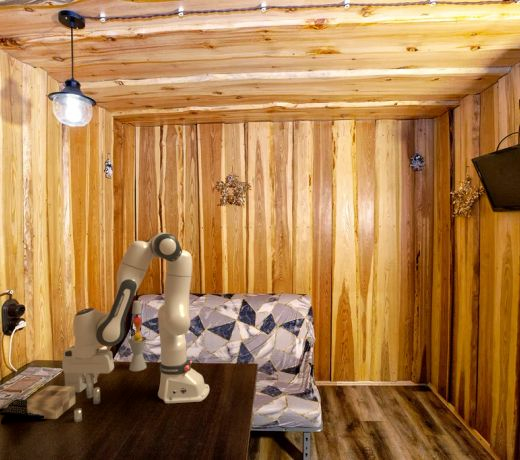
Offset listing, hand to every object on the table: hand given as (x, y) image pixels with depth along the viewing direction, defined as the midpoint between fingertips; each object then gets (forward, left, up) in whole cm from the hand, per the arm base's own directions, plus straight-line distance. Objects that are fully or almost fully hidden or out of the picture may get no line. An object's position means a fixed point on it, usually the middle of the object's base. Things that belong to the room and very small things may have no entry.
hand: (89, 382), depth 142 cm
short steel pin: (+1, +7, -11) cm, 13 cm away
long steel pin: (0, 0, -6) cm, 6 cm away
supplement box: (+17, -17, -12) cm, 27 cm away
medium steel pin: (+1, -6, -11) cm, 13 cm away
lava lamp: (-1, -41, -12) cm, 43 cm away
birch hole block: (+16, +1, -11) cm, 19 cm away
